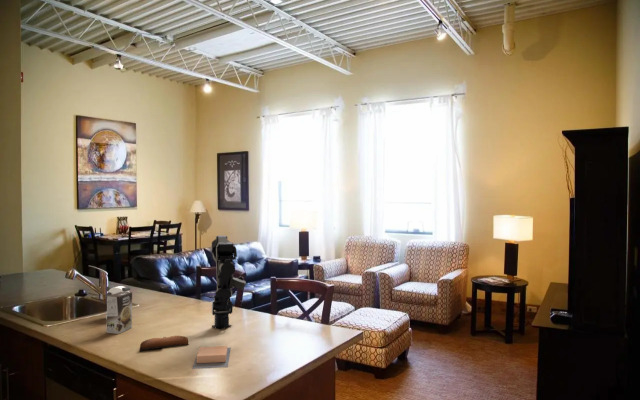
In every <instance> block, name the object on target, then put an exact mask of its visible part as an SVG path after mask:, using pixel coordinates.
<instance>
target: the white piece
mask: <svg viewBox="0 0 640 400" xmlns="http://www.w3.org/2000/svg"><path fill="white" fill-rule="evenodd" d="M130 290H131V287H130V286H123V285H118V286H115V285H114V284H113V285H108V286H106V288H105V291H106V292H107V293H106V295H105V298H106V301H107V296H109V295H112V294H115V293H119V292H130ZM105 319H106V320H107V316H105Z"/></svg>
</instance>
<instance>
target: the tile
mask: <svg viewBox="0 0 640 400" xmlns="http://www.w3.org/2000/svg"><path fill="white" fill-rule="evenodd" d="M227 348H228V345H221V346H215V345H214V346H200V347H199V349H198V352H197V354H196V356H197V363H212V362H226V357H227Z"/></svg>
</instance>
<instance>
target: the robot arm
mask: <svg viewBox="0 0 640 400" xmlns="http://www.w3.org/2000/svg"><path fill="white" fill-rule="evenodd" d="M210 253H211V254H212V259H213V261H214V262H215V265H216V291H215V295H214V297H213V301H212V305H211V314H212V316H214V324H213V325H211V327H212V328H214V329H217V330H223V329H227V328H231V327H232V324H230V315H232V314H233V307H234V303H233V301H232V300H231V298H232V295H233V292H234V291H233V290H232V289H234V288H236V289H239V290H240V291H244V289H245V287H246V284H247V282H246V280H244V277H243V276H241V275H240V276H239V277H234V274H235V272H236V268H235V264H234V263H233V261H235V260H236V259H237V257H238V252H237V247H236V245H235V244H234V242H232V241H229V240H228V235H216V236H215V239H213V241H211V248H210Z"/></svg>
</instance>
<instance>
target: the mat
mask: <svg viewBox="0 0 640 400" xmlns="http://www.w3.org/2000/svg"><path fill="white" fill-rule="evenodd" d="M231 349H232V347H227V357H226V362H212V363H197V355H196V357H195V360H194V362H193V365H192V368H191V369H192V370H193V369H194V370H196V369H197V370H199V369H201V370H202V369H219V368H229V362H230V357H231V356H230V355H231Z"/></svg>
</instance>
